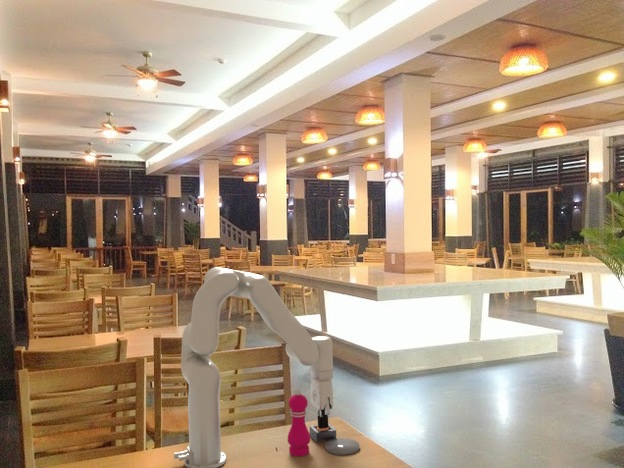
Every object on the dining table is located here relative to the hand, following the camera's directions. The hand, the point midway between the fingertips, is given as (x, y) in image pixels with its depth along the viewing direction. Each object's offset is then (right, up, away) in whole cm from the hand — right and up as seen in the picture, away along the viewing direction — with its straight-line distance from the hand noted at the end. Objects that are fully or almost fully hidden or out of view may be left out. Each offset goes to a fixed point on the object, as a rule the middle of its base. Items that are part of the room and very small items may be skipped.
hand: (323, 427), depth 191 cm
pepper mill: (-8, -4, -11) cm, 14 cm away
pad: (+6, -4, -8) cm, 11 cm away
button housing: (0, -4, 0) cm, 4 cm away
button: (0, -2, 0) cm, 2 cm away
